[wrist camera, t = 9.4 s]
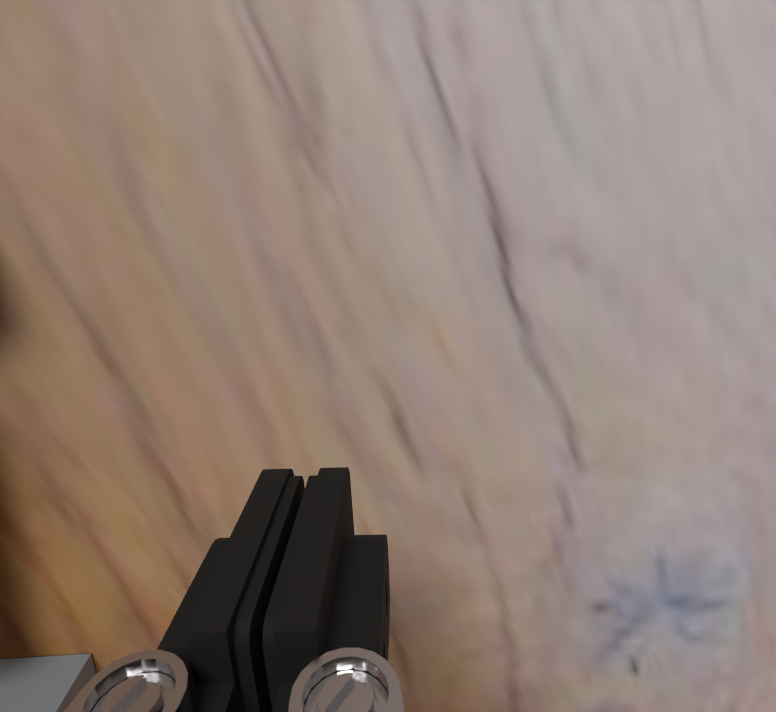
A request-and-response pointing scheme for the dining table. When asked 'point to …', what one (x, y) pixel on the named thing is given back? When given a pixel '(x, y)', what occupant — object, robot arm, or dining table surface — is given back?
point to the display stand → (43, 682)
